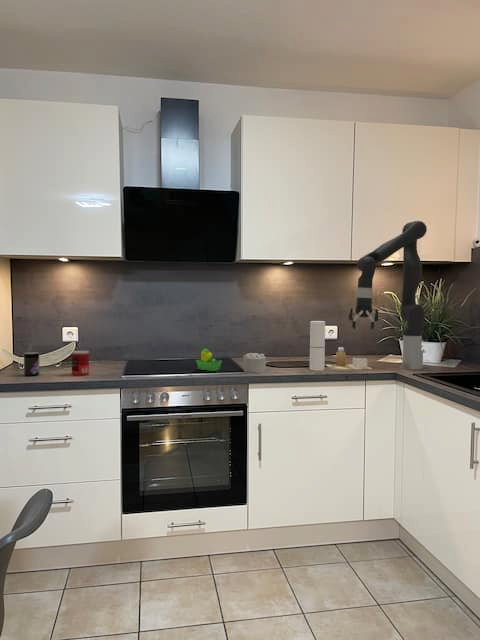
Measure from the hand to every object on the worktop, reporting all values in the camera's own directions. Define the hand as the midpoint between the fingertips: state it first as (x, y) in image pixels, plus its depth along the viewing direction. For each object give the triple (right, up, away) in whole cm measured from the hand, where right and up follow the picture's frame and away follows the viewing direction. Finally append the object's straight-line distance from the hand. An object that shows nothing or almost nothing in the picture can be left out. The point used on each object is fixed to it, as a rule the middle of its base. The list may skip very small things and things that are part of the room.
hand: (362, 329), depth 244 cm
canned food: (-136, -21, -16) cm, 139 cm away
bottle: (-10, -19, +6) cm, 22 cm away
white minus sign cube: (-1, -19, 0) cm, 19 cm away
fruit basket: (-77, -21, -3) cm, 80 cm away
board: (-7, -21, +3) cm, 22 cm away
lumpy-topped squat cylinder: (-54, -21, -3) cm, 58 cm away
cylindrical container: (-24, -21, -6) cm, 33 cm away
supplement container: (-158, -21, -19) cm, 161 cm away
